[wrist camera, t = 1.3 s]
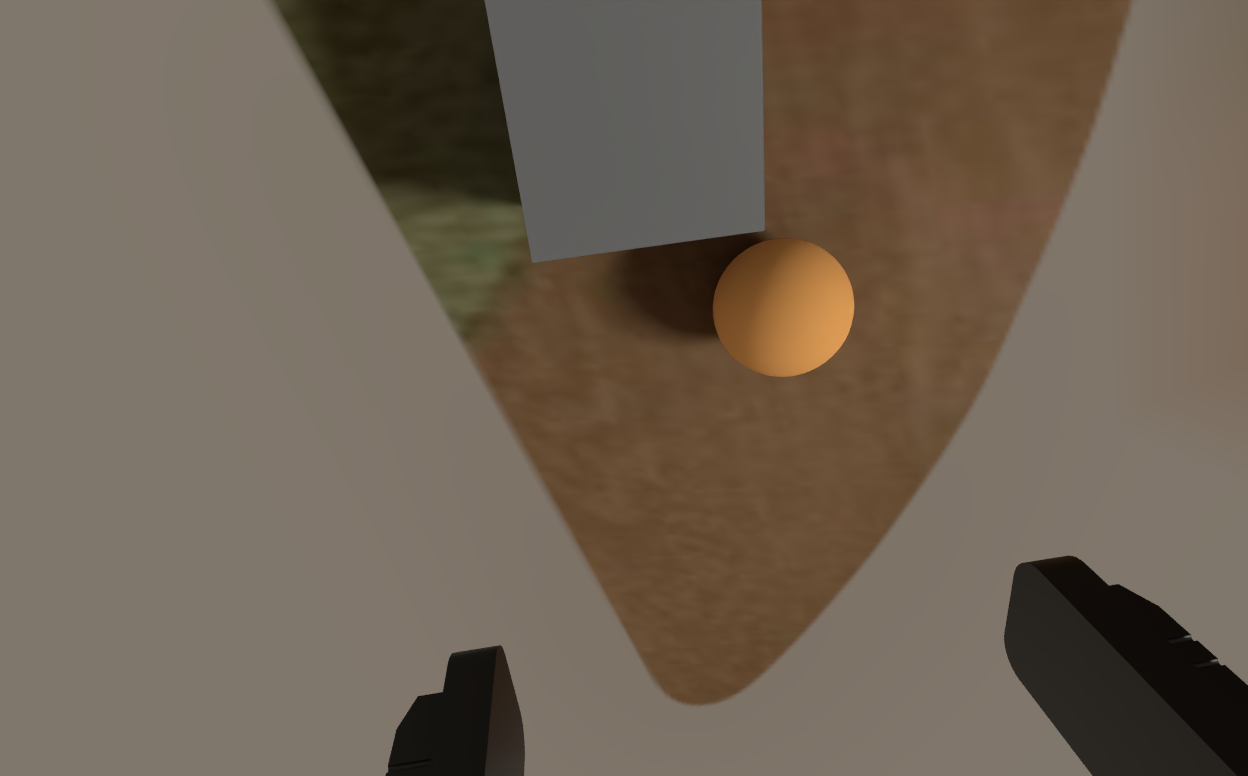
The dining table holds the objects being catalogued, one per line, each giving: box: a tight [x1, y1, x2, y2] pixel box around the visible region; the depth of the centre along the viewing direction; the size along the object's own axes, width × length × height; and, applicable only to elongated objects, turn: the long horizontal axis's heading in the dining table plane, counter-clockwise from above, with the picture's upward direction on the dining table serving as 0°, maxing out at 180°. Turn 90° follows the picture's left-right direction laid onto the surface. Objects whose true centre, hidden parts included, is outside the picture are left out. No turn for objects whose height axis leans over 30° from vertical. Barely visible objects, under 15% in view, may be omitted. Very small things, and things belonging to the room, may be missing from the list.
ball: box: [713, 238, 854, 377], centre depth 25 cm, size 5×5×5 cm
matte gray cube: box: [485, 0, 765, 263], centre depth 21 cm, size 7×7×7 cm
